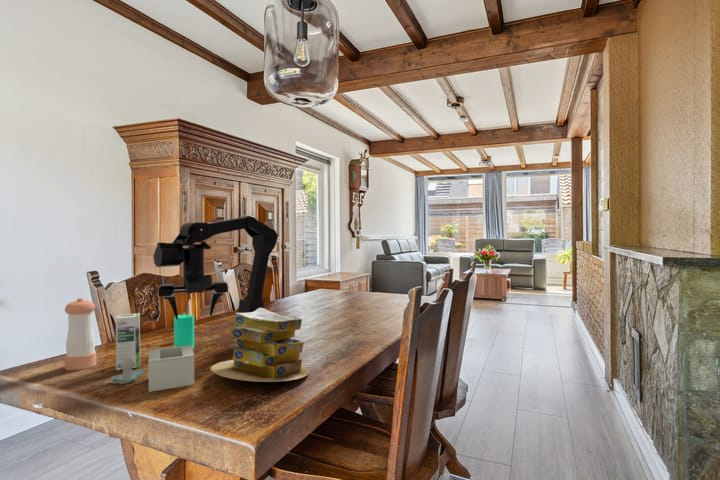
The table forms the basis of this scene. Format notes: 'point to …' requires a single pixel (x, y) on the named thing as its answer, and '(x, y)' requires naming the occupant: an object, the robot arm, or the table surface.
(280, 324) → the stacked boxes on plate
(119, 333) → the syrup box
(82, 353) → the pepper shaker
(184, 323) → the candle
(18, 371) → the table surface
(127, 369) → the pacifier
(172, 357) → the coin box
